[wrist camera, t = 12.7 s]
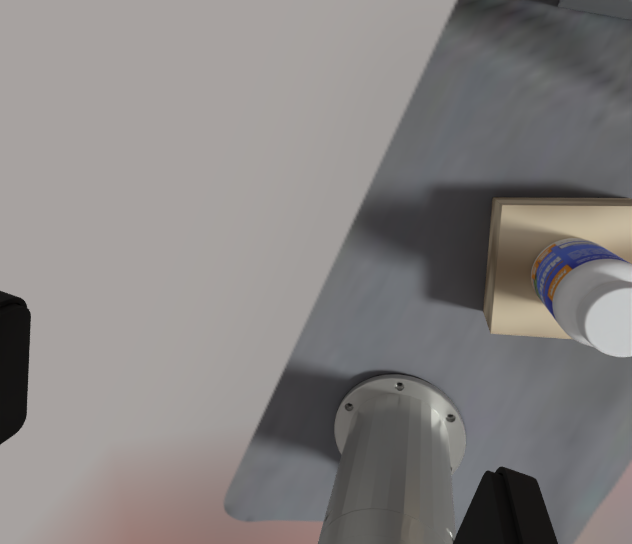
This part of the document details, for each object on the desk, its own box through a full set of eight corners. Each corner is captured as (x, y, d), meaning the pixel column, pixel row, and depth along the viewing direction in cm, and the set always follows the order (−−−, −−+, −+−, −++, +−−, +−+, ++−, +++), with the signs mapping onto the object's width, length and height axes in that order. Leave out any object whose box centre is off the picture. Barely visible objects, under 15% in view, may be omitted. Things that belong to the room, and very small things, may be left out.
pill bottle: (529, 239, 33) (568, 275, 24) (613, 234, 32) (688, 270, 23) (529, 309, 35) (566, 369, 26) (609, 307, 33) (679, 369, 24)
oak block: (609, 318, 38) (635, 343, 34) (483, 311, 40) (490, 333, 36) (629, 198, 36) (660, 206, 31) (492, 197, 38) (502, 205, 33)
